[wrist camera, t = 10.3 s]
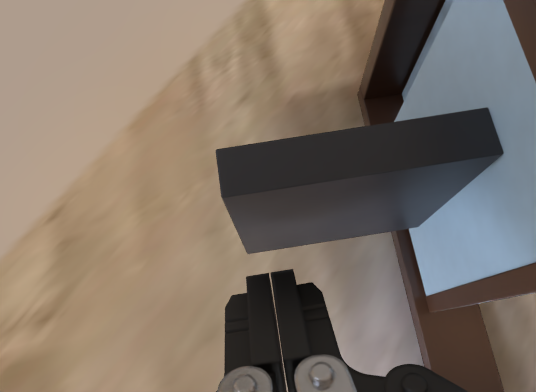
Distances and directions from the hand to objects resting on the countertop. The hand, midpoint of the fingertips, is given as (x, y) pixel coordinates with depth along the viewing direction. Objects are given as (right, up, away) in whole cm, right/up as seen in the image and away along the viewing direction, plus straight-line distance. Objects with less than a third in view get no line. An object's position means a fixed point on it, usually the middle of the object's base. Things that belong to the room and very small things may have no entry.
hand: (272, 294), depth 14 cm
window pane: (+3, +1, +9) cm, 10 cm away
